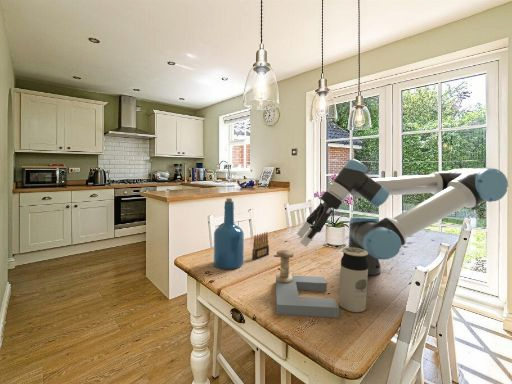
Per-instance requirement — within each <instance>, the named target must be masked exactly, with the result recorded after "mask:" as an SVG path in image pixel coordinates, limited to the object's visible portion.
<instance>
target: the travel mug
mask: <svg viewBox="0 0 512 384" xmlns="http://www.w3.org/2000/svg"><path fill="white" fill-rule="evenodd" d="M341 252H342V253H343V256H342V257H341V258H340V274H339V275H340V277H339V292H338V293H339V295H338V296H339V298H338V304H339V305H338V306H340V307H341V308H342V309H344V310H346V311H349V312H350V313H351V312H352V313H361V312H364V311H366V308H367V296H368V295H367V291H368V276H369V275H368V261H367V259H366V257H367V255H368V252H367V251H366V250H363V249H360V248H352V247H349V246H347V247H344V248H342V249H341Z"/></svg>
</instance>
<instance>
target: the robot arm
mask: <svg viewBox="0 0 512 384" xmlns="http://www.w3.org/2000/svg"><path fill="white" fill-rule="evenodd" d="M367 172H368V167H367V166H366V165H365V164H364V163H363V162H361V161H359V160H357V159H355V158H353V159H349V161H347V162H346V164H345V165H344V166H343V167H342V169H341V170H340V171H339V173H338V175H337V176H336V177H335V178H334V180H333V181H332V182H329V186H328V187H327V189H326V191H324V193H323V194H322V195H321V196H320V200H322V201H323V203H322V202H320V203H319V204H318V206H317V207H316V208H315V209H314V210H313V211H312V212H311V213H310V214H309V216H307V218H306V220H305V222H304V223H303V225H302V226H301V227H300V229H299V230H298V231H297V233H296V235H298V236H299V237H300V238H301V240H300V241H299V243H300V244H301V245H302V246H304V247H306V248H307V246H308V245H309V244H310V243H311V241H312V240H313V238H314V237H315V236H316V235H317V234H318V233H321V232H322V230H323V229H324V226H325V224H326V223H327V221H328V219H329V217H330V216H331V214H332V213H333V212H334V210H338V209H339V207H340V206H341V205H342V204H343V203H342V202H344V201H345V200H346V199H347V197H348V196H349V195H351V196H352V197H354V198H359V199H362V200H365V201H367V202H368V203H369V204H371V205H373V206H374V207H379V206H382V205H383V204H384V203H385V202H386V201H387V200H388V198H389V196H402V195H417V194H418V195H420V194H431V195H432V196H431V197H429V198H427V199H425V200H423V201H422V202H420V203H418V204H416V205H414V206H412V207H411V208H409V209H407V210H406V211H404V212H402V213H400V214H398V215H397V216H394V217H392V218H389V217H383V219H379V218H378V217H369V216H352V217H351V218H350V219H349V224H348V225H349V228H348V229H349V233H348V234H349V235H348V247H352V248H360V249H363V250H366V251H367V252H368V255H367V257H366V259H367V261H368V276H376V275H379V274H381V269H382V268H381V267H382V266H381V263H380V260H381V261H382V260H384V261H385V260H390V259H392V258H394V257H396V256H397V255H399V253H400V249H402V247H403V246H405V245H406V243H407V240H408V238H410V237H412V236H413V235H415V234H417V233H419V232H421V231H423V230H425V229H426V228H428V227H430V226H431V225H434V224H436V223H437V222H439V221H441V220H443V219H444V218H446V217H448V216H450V215H452V214H454V213H455V212H457V211H459V210H461V209H463V208H467V209H472V208H474V207H476V206H478V205H480V204H482V203H484V202H488V203H491V202H498V201H500V200H502V198H504V196H505V195H506V194H507V192H508V187H509V182H508V179H507V178H508V177H506V175H505V173H504V172H503V171H501V170H500V169H497V168H493V167H492V168H491V167H483V168H482V167H481V168H480V167H479V168H478V167H477V168H473V167H472V168H470V167H469V168H467V167H466V168H456V169H450V170H444V171H434V172H432V173H430V174H428V175H427V174H426V175H425V174H424V175H411V176H410V175H409V176H397V177H382V178H371V176H369V175H368V174H366V173H367Z"/></svg>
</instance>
